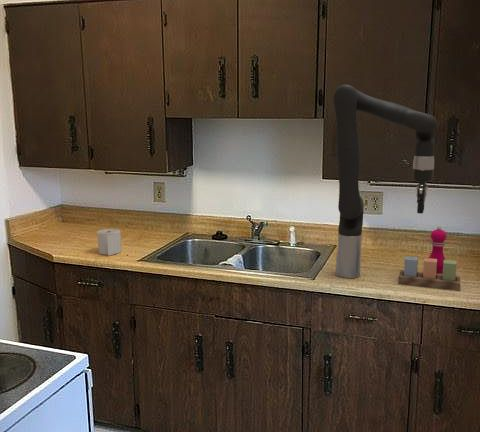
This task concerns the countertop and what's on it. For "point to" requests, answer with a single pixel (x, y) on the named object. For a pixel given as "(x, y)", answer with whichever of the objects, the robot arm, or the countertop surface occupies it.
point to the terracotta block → (430, 268)
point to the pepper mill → (438, 248)
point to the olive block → (449, 270)
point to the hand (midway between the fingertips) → (420, 211)
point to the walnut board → (429, 281)
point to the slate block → (410, 266)
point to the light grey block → (109, 241)
